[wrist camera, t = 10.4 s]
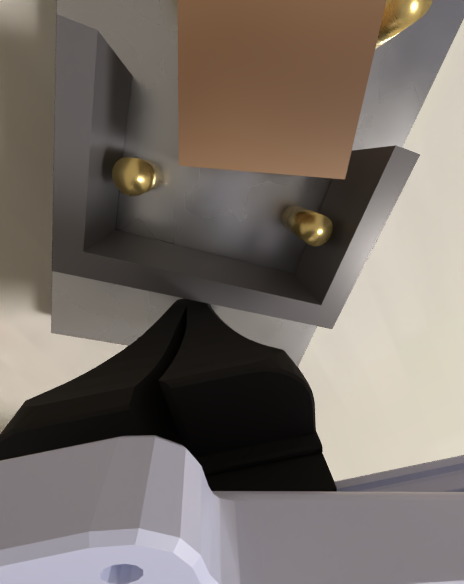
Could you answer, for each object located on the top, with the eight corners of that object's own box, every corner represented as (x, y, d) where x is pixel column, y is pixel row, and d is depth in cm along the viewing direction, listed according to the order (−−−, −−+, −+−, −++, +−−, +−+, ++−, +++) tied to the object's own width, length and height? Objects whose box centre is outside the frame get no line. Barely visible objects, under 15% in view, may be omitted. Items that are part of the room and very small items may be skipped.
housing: (104, 64, 8) (56, 14, 5) (361, 158, 10) (420, 154, 7) (91, 244, 10) (51, 271, 8) (303, 293, 12) (332, 329, 10)
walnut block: (188, 19, 8) (176, -104, 4) (315, 38, 8) (400, -59, 5) (187, 166, 10) (178, 165, 6) (294, 175, 10) (345, 178, 6)
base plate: (93, -426, 6) (-61, -1253, 2) (509, -130, 8) (720, -336, 5) (63, 319, 13) (15, 371, 10) (288, 358, 15) (311, 411, 12)
